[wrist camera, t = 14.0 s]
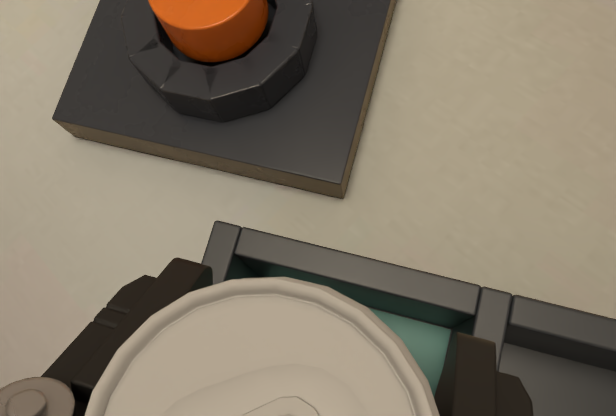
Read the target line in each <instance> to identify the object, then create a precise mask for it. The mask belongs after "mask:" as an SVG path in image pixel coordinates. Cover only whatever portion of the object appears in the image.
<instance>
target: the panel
mask: <svg viewBox="0 0 616 416" xmlns="http://www.w3.org/2000/svg"><path fill="white" fill-rule="evenodd" d="M267 3H268V12H269V13H268V20H267V24H266V27H265V29H264V31H263V33H262V35H261V37H260V38H259V39H258V41H257V42H256V43H255V44H254V45H253V46H252V47H251V48H250V49H249V50H247V51H246V52H244V53H243V54H241V55H239V56H237V57H235V58H233V59H230V60H226V61H222V62H202V61H198V60H195V59H192V58H190V57H188V56H186V55H184V54H183V53H182V52H180V51H179V50H178V49H177V48H176V47H175V46H174V44H173V43H172V41H171V40H170V38H169V36H168V35H167V33H166V31H165V30H164V28H163V26H162V25H161V23H160V21H159V20H158V18H157V17H156V15H155V13H154V12H153V10H152V8H151V6H150V4H149V2H148V0H100V2H99V4H98V7H97V9H96V11H95V14H94V16H93V19H92V21H91V24H90V26H89V29H88V31H87V34H86V36H85V38H84V41H83V43H82V46H81V48H80V51H79V53H78V56H77V58H76V60H75V63H74V65H73V68H72V70H71V73H70V75H69V78H68V80H67V83H66V85H65V87H64V90H63V92H62V95H61V97H60V100H59V102H58V105H57V107H56V110H55V112H54V114H53V117H52V119H53V120H54V121H55V122H57V123H58V124H59V125H60V126H62V127H63V128H64V129H66V130H67V131H68V132H69V133H71V134H72V135H73V136H75V137H79V138H83V139H88V140H92V141H96V142H100V143H105V144H109V145H113V146H118V147H122V148H126V149H131V150H135V151H139V152H144V153H148V154H152V155H157V156H161V157H165V158H170V159H174V160H178V161H183V162H187V163H191V164H195V165H200V166H204V167H208V168H213V169H217V170H221V171H226V172H230V173H234V174H239V175H243V176H247V177H252V178H256V179H260V180H265V181H269V182H273V183H278V184H282V185H286V186H290V187H295V188H299V189H303V190H308V191H312V192H316V193H321V194H325V195H329V196H334V197H338V198H344V195H345V191H346V187H347V184H348V180H349V176H350V172H351V169H352V165H353V161H354V157H355V154H356V150H357V146H358V143H359V139H360V135H361V131H362V128H363V124H364V120H365V116H366V113H367V109H368V105H369V101H370V98H371V94H372V90H373V86H374V83H375V79H376V75H377V71H378V68H379V64H380V60H381V57H382V53H383V49H384V45H385V42H386V38H387V34H388V30H389V27H390V23H391V19H392V15H393V12H394V8H395V4H396V0H267Z"/></svg>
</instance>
